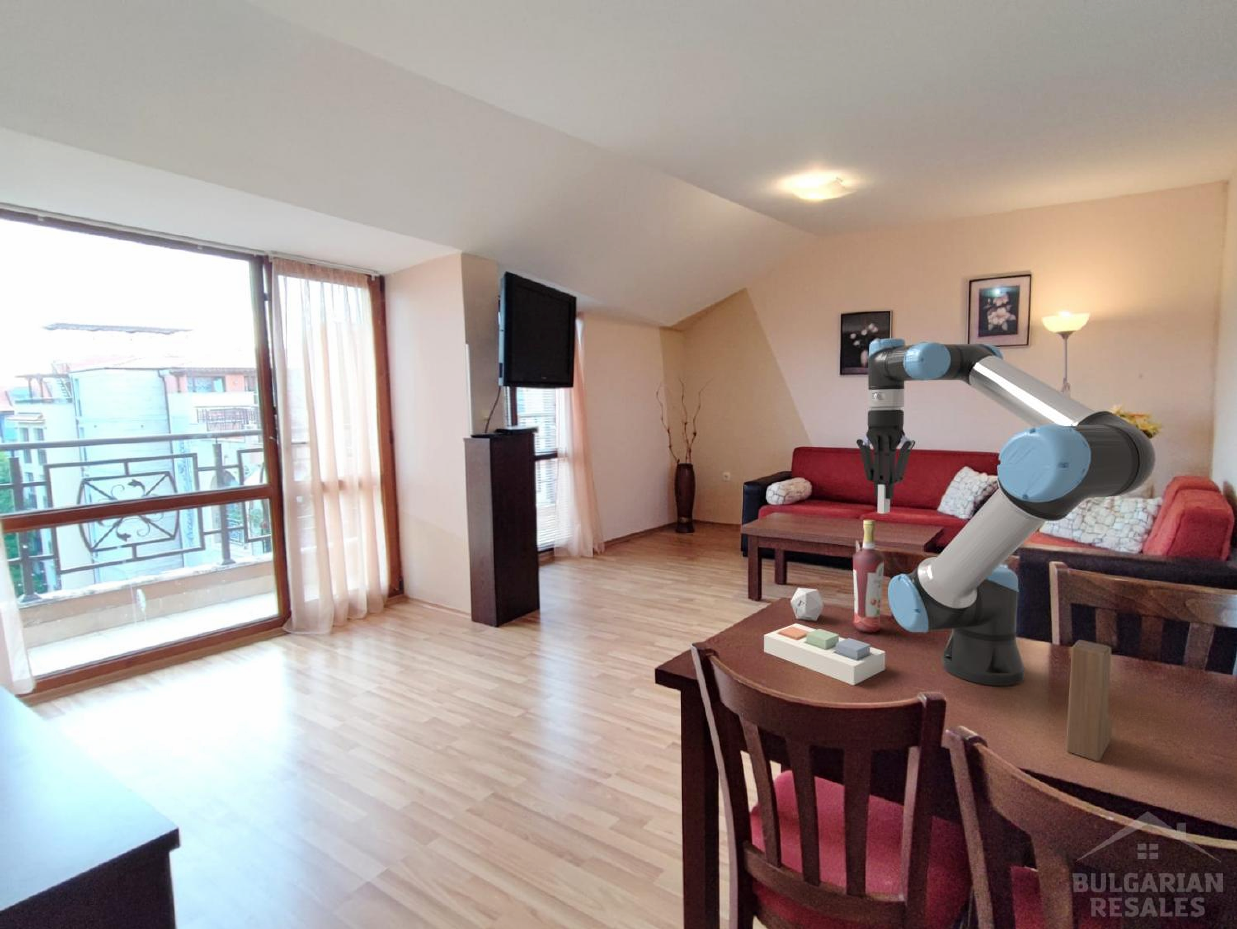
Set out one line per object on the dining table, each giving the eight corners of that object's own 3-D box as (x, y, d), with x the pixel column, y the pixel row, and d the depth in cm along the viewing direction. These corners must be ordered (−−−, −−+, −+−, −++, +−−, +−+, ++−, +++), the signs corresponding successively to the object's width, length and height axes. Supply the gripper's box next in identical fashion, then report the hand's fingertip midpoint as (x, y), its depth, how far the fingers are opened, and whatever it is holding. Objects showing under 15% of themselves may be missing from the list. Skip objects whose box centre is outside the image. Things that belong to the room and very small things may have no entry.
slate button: (869, 658, 135) (870, 644, 135) (856, 664, 132) (857, 650, 132) (848, 651, 139) (848, 638, 139) (835, 657, 136) (835, 643, 136)
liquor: (874, 637, 155) (876, 524, 152) (846, 629, 160) (848, 520, 158) (887, 629, 160) (890, 520, 157) (859, 622, 165) (862, 516, 162)
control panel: (884, 669, 136) (885, 651, 136) (853, 685, 129) (853, 666, 129) (795, 639, 154) (796, 623, 154) (764, 651, 147) (764, 635, 147)
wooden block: (1078, 732, 110) (1084, 631, 108) (1111, 742, 106) (1117, 638, 105) (1065, 752, 104) (1071, 645, 102) (1099, 763, 100) (1106, 653, 98)
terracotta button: (809, 644, 147) (810, 632, 147) (796, 650, 144) (796, 637, 144) (792, 638, 151) (792, 626, 151) (778, 643, 148) (778, 631, 148)
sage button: (838, 647, 141) (838, 634, 141) (825, 653, 138) (825, 640, 138) (819, 641, 145) (819, 628, 145) (806, 646, 142) (806, 633, 142)
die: (785, 615, 174) (782, 594, 168) (807, 596, 176) (805, 575, 170) (809, 633, 168) (807, 612, 162) (831, 613, 171) (829, 592, 164)
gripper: (850, 409, 145) (848, 511, 147) (905, 408, 135) (903, 518, 137) (867, 409, 149) (865, 507, 152) (922, 408, 139) (920, 514, 141)
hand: (883, 512), depth 144 cm, fingers closed
